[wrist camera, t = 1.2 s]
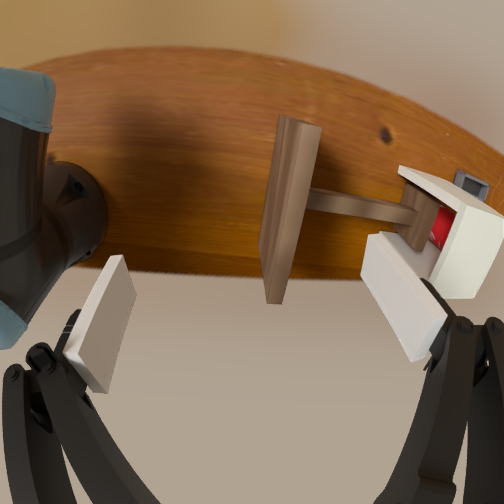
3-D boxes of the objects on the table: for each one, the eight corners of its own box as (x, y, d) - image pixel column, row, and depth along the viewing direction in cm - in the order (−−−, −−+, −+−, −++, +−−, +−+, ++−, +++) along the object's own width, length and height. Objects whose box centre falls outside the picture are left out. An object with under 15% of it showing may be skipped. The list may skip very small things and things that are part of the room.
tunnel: (377, 237, 39) (425, 298, 26) (399, 164, 33) (467, 205, 21) (424, 244, 40) (473, 298, 28) (447, 180, 34) (510, 221, 22)
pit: (451, 188, 35) (458, 192, 33) (457, 169, 33) (464, 172, 31) (478, 198, 36) (484, 202, 34) (483, 181, 34) (490, 184, 32)
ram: (258, 243, 38) (266, 303, 27) (279, 115, 29) (303, 123, 19) (387, 256, 40) (424, 306, 30) (421, 152, 31) (479, 179, 21)
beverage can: (435, 217, 37) (481, 257, 27) (410, 230, 38) (454, 274, 28) (431, 189, 35) (482, 224, 24) (405, 201, 36) (454, 241, 25)
